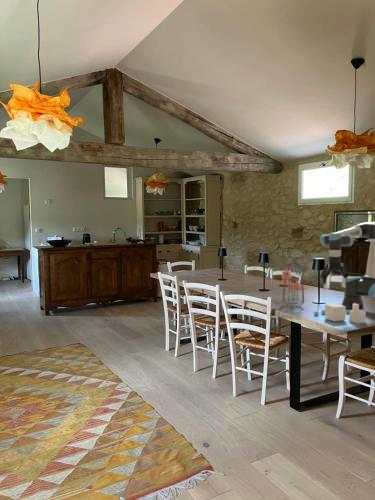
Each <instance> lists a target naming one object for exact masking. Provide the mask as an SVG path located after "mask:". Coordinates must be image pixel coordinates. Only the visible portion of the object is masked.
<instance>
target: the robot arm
mask: <svg viewBox="0 0 375 500" xmlns="http://www.w3.org/2000/svg"><path fill="white" fill-rule="evenodd" d="M359 238H365V239H368V240H369V242H370V244H369V251H368V257H367V264H366V269H365V270H366V271H365V275H363V276H350V274H349V272H348V270H347V268H346V263H345V262H342V247H350V246H352V245H353V244H354V239H359ZM319 242H320V244H321V245H322V246H328V263H324V266H323V269H322V272H321V274H320V275H319V277H320V278H321V279H322V284H323V289H325V290H327V289H328V279H327V278H328V277H329V275H330V274H331V272H333V271H338V273H339V274H340V275H341V276H342V277H341V288H344V293H343V294H344V297H343V300H342V302H341V305H343V306H346V309H347V310H353V304H354V303H360V304H362V305H363V309H364V305H365V304H364V303H363V302H364V301H363V299H362V296H364V297H365V296H366V297H370V298H375V221H366V222H362V223H358V224H355V225H352V226H351V227H350V228H347V229H343V230H339V231H336V232H330V233H329V234H327V233H326V234H322V235H320V237H319Z"/></svg>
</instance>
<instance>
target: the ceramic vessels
mask: <svg viewBox="0 0 375 500" xmlns="http://www.w3.org/2000/svg"><path fill="white" fill-rule="evenodd" d="M282 270H283V269H282ZM282 270H281V279H282V280H281V281H280V282H281V283H280V284H281V285H282V286H283V287H289V279H288V280H286V283H285V282H284V273H283V272H284V271H285V270H286V269H285V270H283V271H282ZM287 270H288V269H287ZM289 272H291V271H289ZM289 272H288V274H285V278H288V277H289V278H290V280H291V279H292V278H293V277H292V276H293V275H292V272H291V273H289ZM285 273H287V272H286V271H285ZM286 275H288V276H287V277H286ZM295 280H296V281H295V283H294V284H295V291H297V279H295ZM294 284H292V287H291V281H290V290H291V291H294ZM302 289H303V290H306V287H304V285H301V283H298V291H302Z"/></svg>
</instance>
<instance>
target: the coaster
mask: <svg viewBox="0 0 375 500" xmlns="http://www.w3.org/2000/svg"><path fill="white" fill-rule="evenodd" d="M327 321H328V322H333V323H344V321H345V320H340V321H332V320H329V319H327Z"/></svg>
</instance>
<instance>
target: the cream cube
mask: <svg viewBox="0 0 375 500" xmlns="http://www.w3.org/2000/svg"><path fill="white" fill-rule="evenodd" d="M346 309H347V308H346V306H343V305H342V304H338V303H330V304H327V303H326V304H325V305H324V311H325V315H324V318H325V319H327V320H328V319H329V320H332V321H340V320H344V321H345V320H346Z"/></svg>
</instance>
